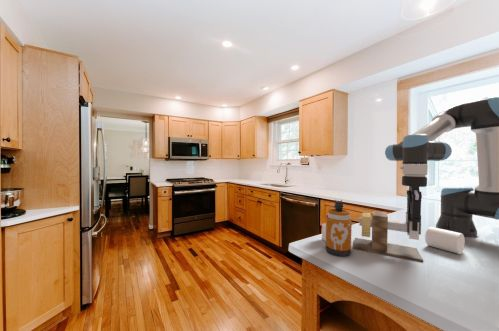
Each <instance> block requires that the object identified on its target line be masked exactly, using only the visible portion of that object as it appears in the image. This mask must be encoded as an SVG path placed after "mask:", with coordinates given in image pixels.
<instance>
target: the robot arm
mask: <svg viewBox="0 0 499 331" xmlns="http://www.w3.org/2000/svg"><path fill="white" fill-rule="evenodd" d="M467 127H469V128H470V131H471V132H473V133H475V136H476V137H475V139H476V140H475V141H476V142H475V143H476V152H477V153H476V157H477V158H476V159H477V170H478V171H477V172H478V185H477V186H475V187H472V186H471V187H468V186H467V187H443V188H442V189H441V192H440V216H439V217H438V220H437V222H436V224H435V228H439V229H444V230H448V231H453V232H458V233H462V234H463V235H464V238H465V237H466V238H476V237H478V230H477V228H476V224H475V222H474V220H473V216H478V217H483V218H488V219H494V220H496V221H498V220H499V95H498V94H497V95H492V96H488V97H484V98H479V99H475V100H470V101H465V102H460V103H458V104H455V105H453V106H451V107H448V108H446V109H444V110H443V111H441V112H439V114H437V115H435V116H434V117H433V118H432V120H431V121H430V122H428V123H426V125H424V126H422V127H421V128H420V129H418V130H417V131H414V133H412V134H407V135H405V136H404V137H403V138H402V139H403V140H402V141H400V142H399V143H397V144H395V143H394V144H391V145H388V146H387V147H386V148H385V150H384V154H385V158H386V160H389V161H391V162H393V161H395V162H402V166H400V169H401V170H402V171H401V174H402V176H401V185H402V186H404V187H405V186H406V187H408V190H406V194H407V196H406V200H407V201H406V212H410V220H408V221H410V226H409V233H407V232H406V234H407V236H408V239H410V240H417V241H419V239H420V234H419V222H420V221H421V222H422V214H421V213H422V198H423V196H422V191H420V188H426V187H427V186H428V177H427V175H428V172H429V170H428V167H429V164H428V161H429V162H430V161H431V162H432V161H434V162H441V161H445V160H447V159H449V158H450V157H451V155H452V152H453V150H452V147H451V145H450V144H449V143H447V142H443V141H440V140H438V141H435V140H436V139H438V138H439V137H441V136H442V135H443V134H445V133H449V132H451V131H453V130H455V129H460V128H467Z"/></svg>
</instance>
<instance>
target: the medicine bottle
mask: <svg viewBox="0 0 499 331" xmlns="http://www.w3.org/2000/svg"><path fill="white" fill-rule="evenodd" d="M327 217H328V213H327V214H326V218H327ZM321 240H322V241H325V242H326V222H325V223H322V224H321Z"/></svg>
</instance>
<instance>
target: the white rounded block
mask: <svg viewBox="0 0 499 331" xmlns="http://www.w3.org/2000/svg"><path fill="white" fill-rule="evenodd" d="M424 237H425V239H424V240H425V244H426V246H428V247H433V248H435V249H439V250H443V251H445V252H446V251H447V252H449V253H454V254H458V255H461V254H462V253H463V252H464V249H465V243H466V242H465V237H464V235H463V234H462V233H458V232H453V231H448V230H444V229H439V228H436V227H433V226H429V227H428V228H427V229H426V232H425V235H424Z"/></svg>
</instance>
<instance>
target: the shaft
mask: <svg viewBox="0 0 499 331" xmlns="http://www.w3.org/2000/svg"><path fill="white" fill-rule="evenodd" d="M408 220H410V212H407V211H406V212H405V221H397V220H389V219H388V231H389V230H390V231H395V232H403V233H406V234H407V233H409V226H410V221H408ZM358 225H359V226H361V227H362V216H359V224H358ZM370 228H372V217H371V224H370ZM421 233H422V220H421V221H420V222H419V236H420V235H422V234H421Z"/></svg>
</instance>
